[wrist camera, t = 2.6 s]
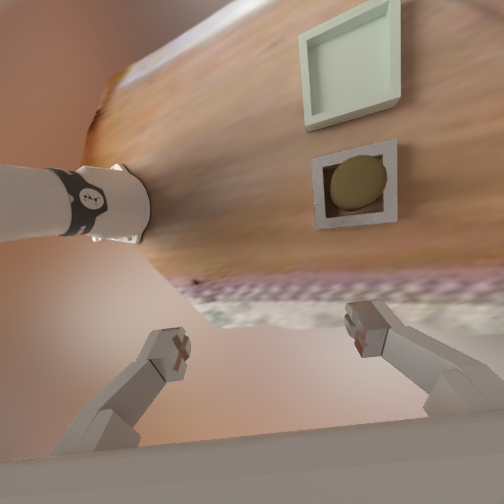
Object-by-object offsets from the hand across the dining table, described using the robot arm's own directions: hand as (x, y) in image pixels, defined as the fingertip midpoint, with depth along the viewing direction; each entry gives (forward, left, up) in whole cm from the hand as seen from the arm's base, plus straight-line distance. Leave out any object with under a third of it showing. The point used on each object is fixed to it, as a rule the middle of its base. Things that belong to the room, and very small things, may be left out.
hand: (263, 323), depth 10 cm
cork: (+6, +8, -25) cm, 27 cm away
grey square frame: (+6, +8, -25) cm, 27 cm away
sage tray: (+6, +23, -25) cm, 34 cm away
